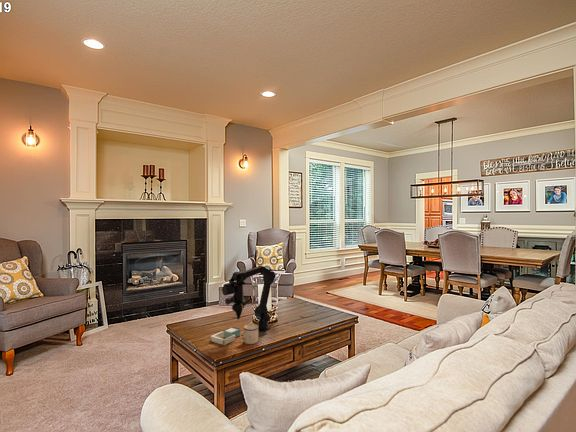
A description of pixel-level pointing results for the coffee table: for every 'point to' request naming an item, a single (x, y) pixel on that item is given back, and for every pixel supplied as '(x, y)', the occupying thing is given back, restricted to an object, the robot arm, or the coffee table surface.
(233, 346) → the coffee table surface
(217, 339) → the cream flat base plank
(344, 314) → the coffee table surface
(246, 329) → the white printed mug
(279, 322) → the coffee table surface
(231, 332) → the cabinet
